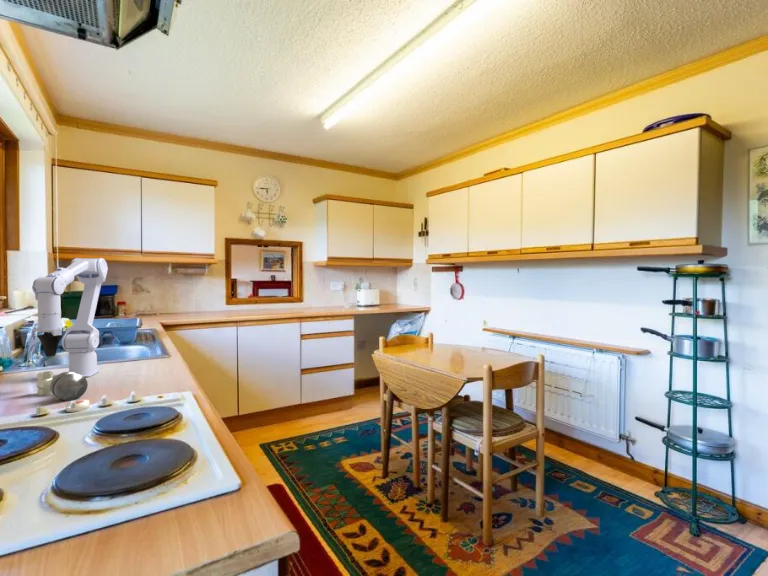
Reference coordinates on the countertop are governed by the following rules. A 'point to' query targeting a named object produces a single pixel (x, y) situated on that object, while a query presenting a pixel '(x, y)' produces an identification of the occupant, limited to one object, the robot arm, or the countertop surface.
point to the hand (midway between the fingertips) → (50, 356)
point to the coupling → (68, 386)
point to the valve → (44, 382)
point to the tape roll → (79, 402)
